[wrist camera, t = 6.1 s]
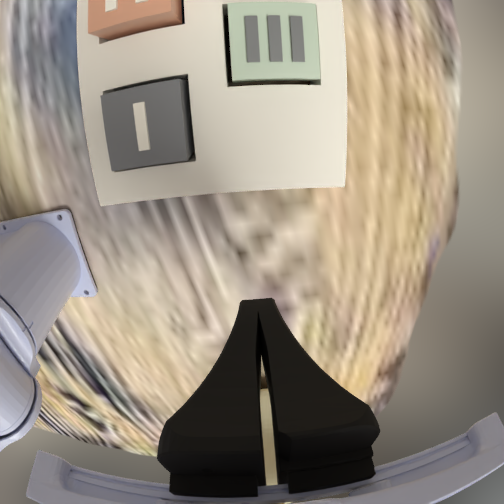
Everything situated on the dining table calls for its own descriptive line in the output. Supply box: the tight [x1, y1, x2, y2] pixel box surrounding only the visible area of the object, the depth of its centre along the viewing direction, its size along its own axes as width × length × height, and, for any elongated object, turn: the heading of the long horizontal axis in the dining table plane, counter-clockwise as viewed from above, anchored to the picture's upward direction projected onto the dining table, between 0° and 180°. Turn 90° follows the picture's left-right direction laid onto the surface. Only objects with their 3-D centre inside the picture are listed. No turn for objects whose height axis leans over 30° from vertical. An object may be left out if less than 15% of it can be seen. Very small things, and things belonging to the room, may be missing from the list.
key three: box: [227, 2, 320, 83], centre depth 13 cm, size 4×4×3 cm
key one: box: [100, 79, 195, 171], centre depth 15 cm, size 4×4×3 cm
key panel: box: [77, 0, 347, 207], centre depth 13 cm, size 15×17×2 cm
